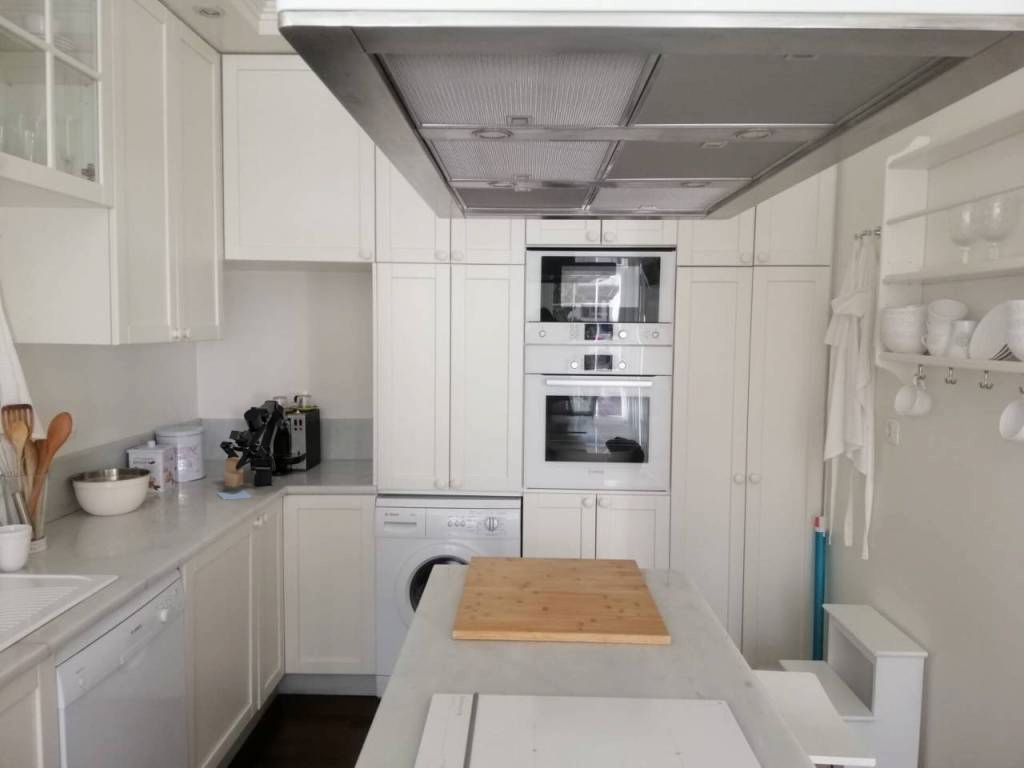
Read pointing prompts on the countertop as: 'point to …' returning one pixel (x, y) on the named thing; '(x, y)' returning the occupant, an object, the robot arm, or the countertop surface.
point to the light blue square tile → (233, 495)
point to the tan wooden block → (233, 472)
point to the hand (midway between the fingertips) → (231, 468)
